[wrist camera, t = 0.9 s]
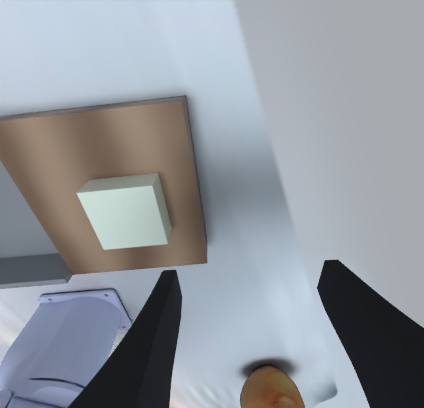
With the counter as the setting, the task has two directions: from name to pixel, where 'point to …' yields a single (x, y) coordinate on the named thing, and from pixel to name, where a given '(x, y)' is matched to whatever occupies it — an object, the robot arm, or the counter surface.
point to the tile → (127, 211)
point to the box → (25, 243)
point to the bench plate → (107, 176)
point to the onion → (270, 390)
